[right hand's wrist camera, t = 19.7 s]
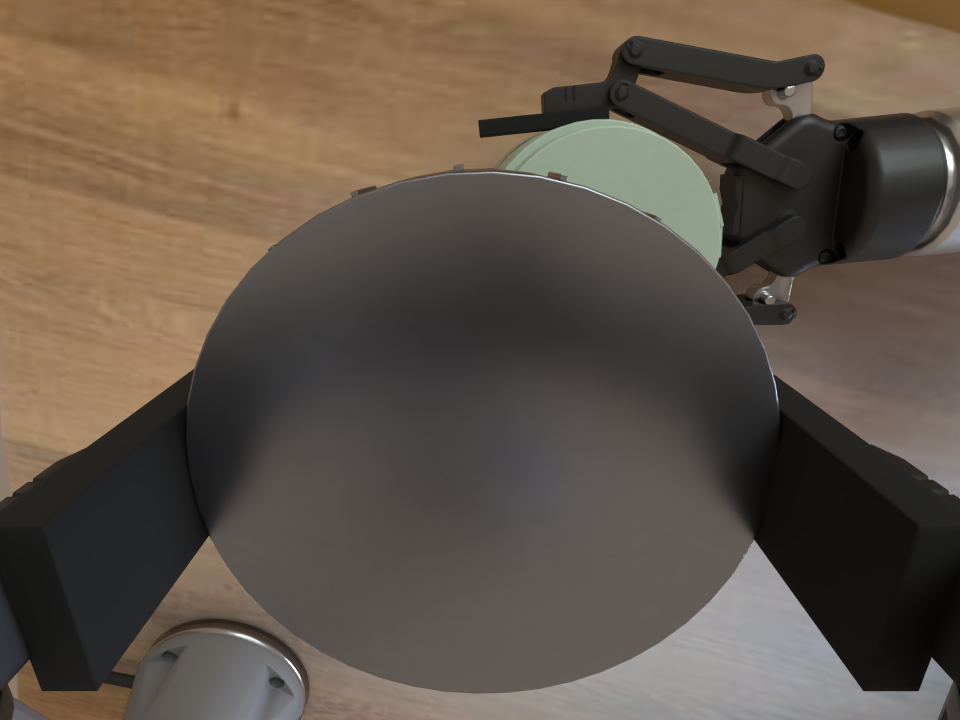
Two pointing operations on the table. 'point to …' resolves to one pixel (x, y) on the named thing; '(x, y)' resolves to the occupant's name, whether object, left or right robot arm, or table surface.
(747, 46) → the table surface
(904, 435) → the table surface
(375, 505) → the lid
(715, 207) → the jar
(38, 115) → the table surface
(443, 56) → the table surface
